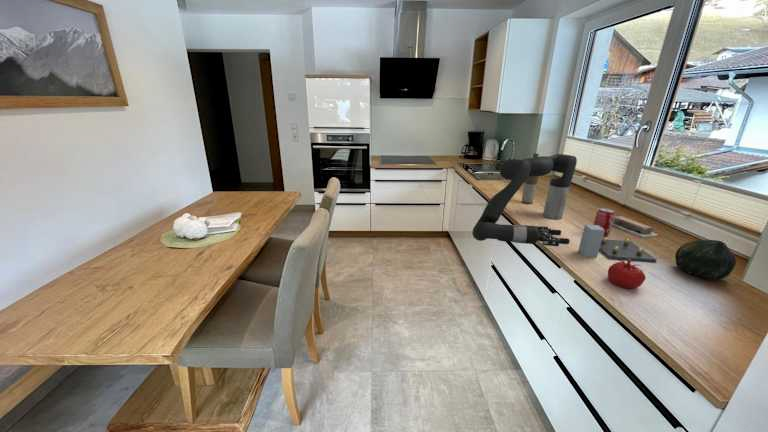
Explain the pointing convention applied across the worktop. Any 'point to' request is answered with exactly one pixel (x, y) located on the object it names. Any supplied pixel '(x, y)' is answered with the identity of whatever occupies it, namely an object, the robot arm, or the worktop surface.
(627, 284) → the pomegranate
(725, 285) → the worktop surface
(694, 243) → the squash
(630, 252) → the plate
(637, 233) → the packaged product
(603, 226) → the soda can
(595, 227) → the block
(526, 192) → the bottle
